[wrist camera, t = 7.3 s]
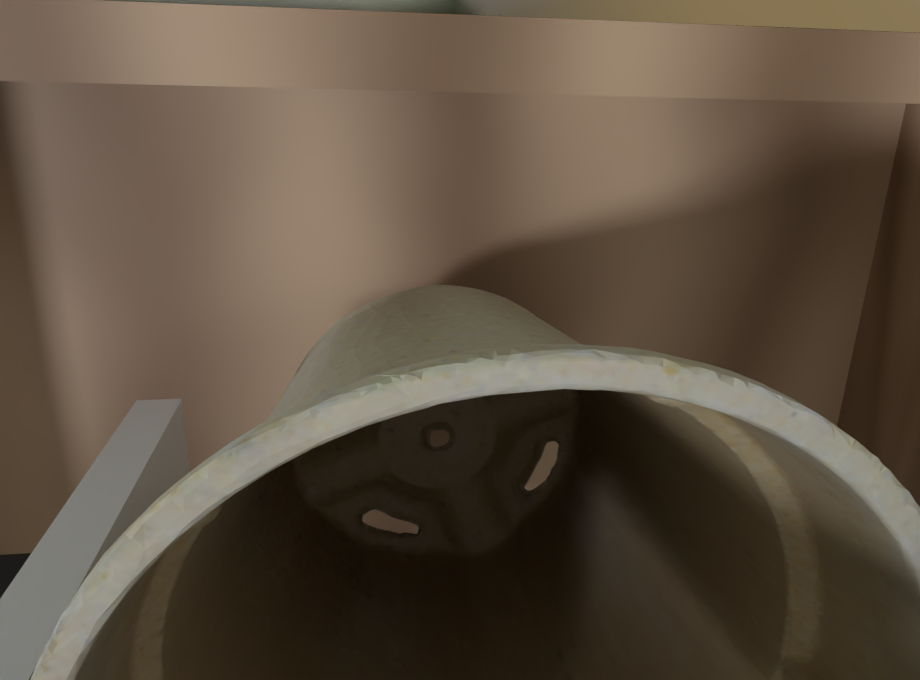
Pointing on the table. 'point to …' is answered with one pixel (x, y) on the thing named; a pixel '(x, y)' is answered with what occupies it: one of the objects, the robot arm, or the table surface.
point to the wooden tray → (438, 209)
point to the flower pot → (510, 524)
